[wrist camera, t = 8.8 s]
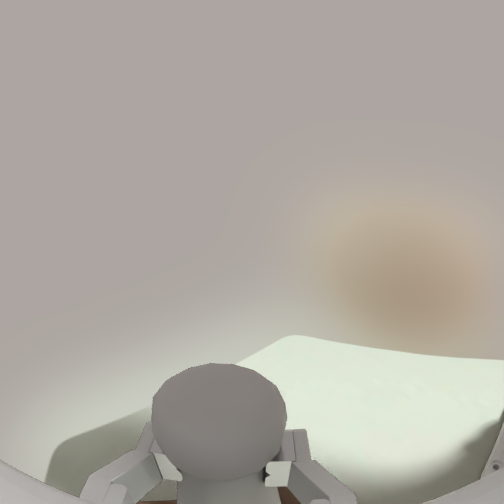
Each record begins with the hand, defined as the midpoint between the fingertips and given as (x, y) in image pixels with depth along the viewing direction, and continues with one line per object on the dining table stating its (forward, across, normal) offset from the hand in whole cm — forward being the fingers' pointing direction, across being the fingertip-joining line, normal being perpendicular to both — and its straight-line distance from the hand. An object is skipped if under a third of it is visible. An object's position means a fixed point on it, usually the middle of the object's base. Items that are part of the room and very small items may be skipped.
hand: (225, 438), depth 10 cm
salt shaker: (-1, 0, +10) cm, 10 cm away
